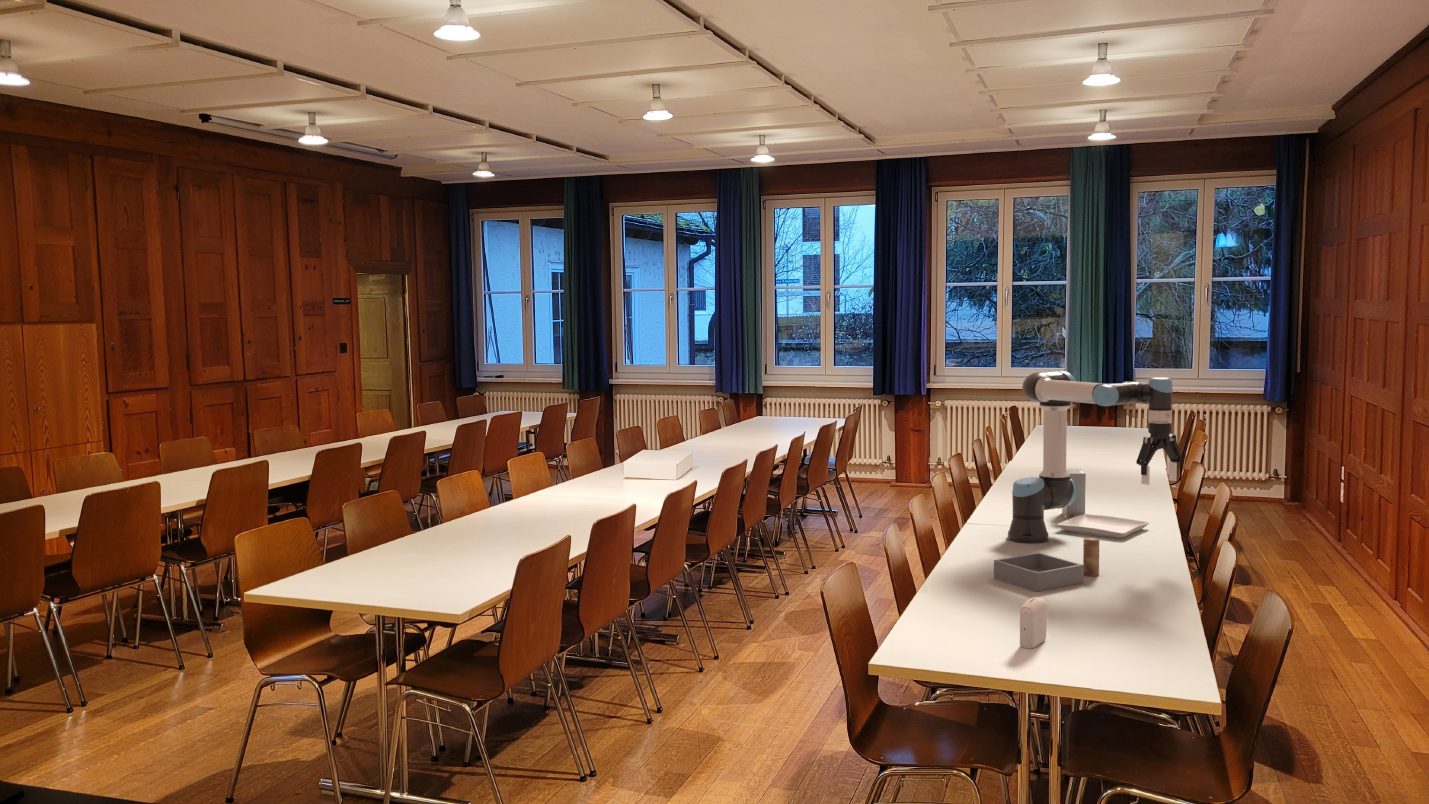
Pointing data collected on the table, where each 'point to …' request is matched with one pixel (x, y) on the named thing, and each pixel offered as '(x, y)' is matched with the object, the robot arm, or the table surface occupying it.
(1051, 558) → the tote
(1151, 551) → the table surface
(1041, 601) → the photo printer
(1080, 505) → the hard drive box
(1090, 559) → the walnut cylinder
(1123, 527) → the square plate
